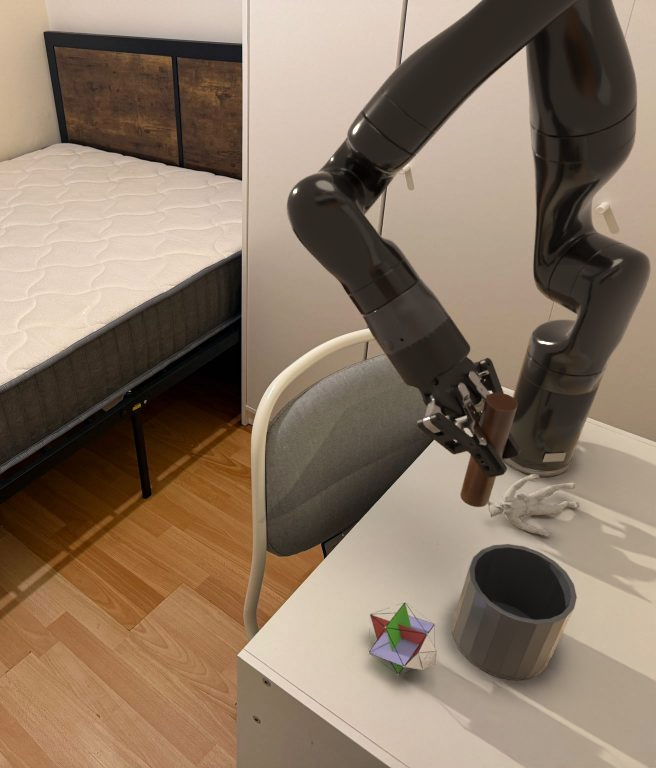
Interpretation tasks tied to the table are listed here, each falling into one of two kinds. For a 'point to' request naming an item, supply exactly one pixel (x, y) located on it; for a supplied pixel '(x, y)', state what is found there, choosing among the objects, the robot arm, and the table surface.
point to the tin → (512, 611)
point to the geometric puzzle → (404, 640)
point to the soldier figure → (529, 504)
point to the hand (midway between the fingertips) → (505, 464)
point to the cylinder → (496, 430)
